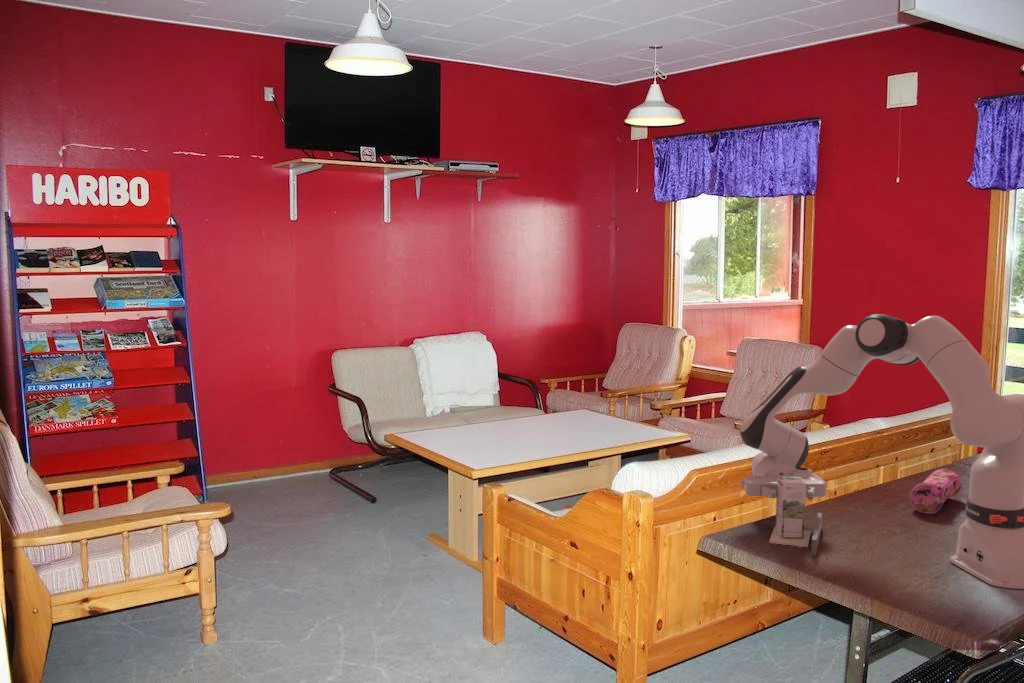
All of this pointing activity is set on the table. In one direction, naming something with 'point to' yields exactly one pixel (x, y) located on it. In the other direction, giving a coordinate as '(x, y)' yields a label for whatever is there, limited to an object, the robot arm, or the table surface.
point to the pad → (791, 539)
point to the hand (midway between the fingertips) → (792, 495)
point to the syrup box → (790, 507)
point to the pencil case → (935, 491)
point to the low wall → (816, 534)
